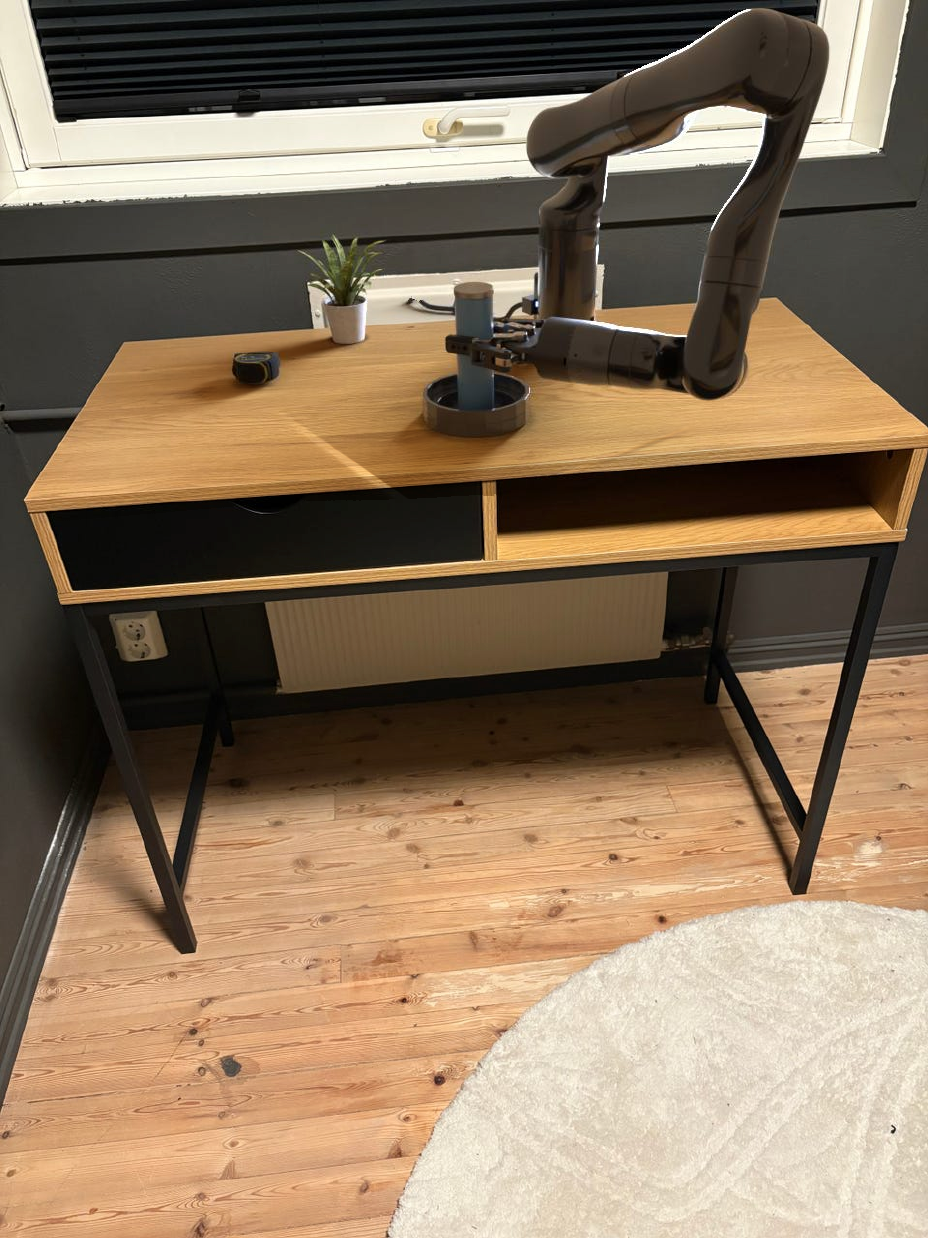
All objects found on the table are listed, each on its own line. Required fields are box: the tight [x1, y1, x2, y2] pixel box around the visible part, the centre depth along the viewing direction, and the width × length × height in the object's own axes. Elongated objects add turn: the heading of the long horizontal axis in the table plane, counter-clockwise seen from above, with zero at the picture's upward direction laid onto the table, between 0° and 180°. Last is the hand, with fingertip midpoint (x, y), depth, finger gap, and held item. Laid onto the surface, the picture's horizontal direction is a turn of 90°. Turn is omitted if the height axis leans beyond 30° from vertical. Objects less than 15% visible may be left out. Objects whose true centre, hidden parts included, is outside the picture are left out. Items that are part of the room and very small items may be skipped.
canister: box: [453, 281, 495, 410], centre depth 121 cm, size 5×5×16 cm
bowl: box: [421, 371, 531, 438], centre depth 126 cm, size 14×14×4 cm
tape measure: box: [231, 351, 281, 385], centre depth 140 cm, size 7×7×4 cm
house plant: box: [298, 233, 387, 345], centre depth 150 cm, size 14×14×16 cm
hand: (456, 336), depth 121 cm, fingers closed on canister, 5 cm apart
